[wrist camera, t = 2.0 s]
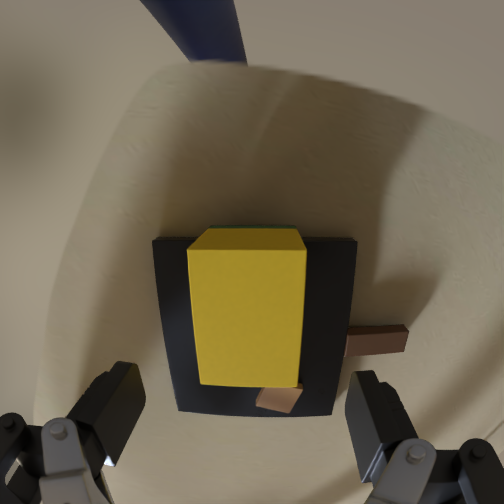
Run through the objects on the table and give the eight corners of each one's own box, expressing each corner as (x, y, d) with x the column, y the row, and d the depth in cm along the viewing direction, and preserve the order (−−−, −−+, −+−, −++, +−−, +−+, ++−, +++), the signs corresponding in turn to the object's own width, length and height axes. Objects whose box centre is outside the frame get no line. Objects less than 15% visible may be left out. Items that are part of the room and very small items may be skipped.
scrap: (267, 375, 22) (267, 381, 22) (302, 383, 22) (303, 389, 22) (255, 399, 23) (255, 405, 22) (288, 407, 23) (289, 413, 22)
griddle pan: (157, 236, 21) (150, 241, 20) (416, 238, 20) (425, 243, 19) (181, 403, 25) (177, 413, 24) (380, 401, 24) (385, 411, 23)
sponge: (210, 225, 19) (186, 248, 14) (295, 225, 19) (307, 249, 13) (216, 333, 22) (200, 384, 16) (291, 334, 21) (297, 387, 15)
